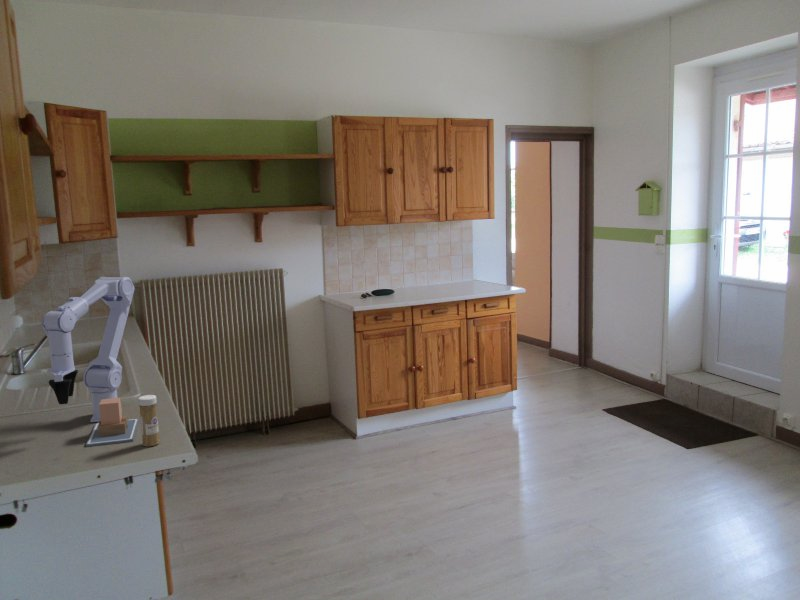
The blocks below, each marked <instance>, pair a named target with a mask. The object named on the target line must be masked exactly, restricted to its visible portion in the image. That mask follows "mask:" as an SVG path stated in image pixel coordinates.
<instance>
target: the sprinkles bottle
mask: <svg viewBox="0 0 800 600" xmlns="http://www.w3.org/2000/svg"><path fill="white" fill-rule="evenodd" d="M138 407H139V414H140V416H139V417H140V419H139V421H140V428H141V430H140V431H141V438H142V445H143V446H144V447H154V446H157V445H159V444H160V443H161V440H160V436H159V435H160V433H159V431H160V430H159V421H158V412H157V411H158V410H157V409H158V408H157V395H154V394H145V395H142V396H139V397H138Z"/></svg>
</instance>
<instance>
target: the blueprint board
mask: <svg viewBox="0 0 800 600" xmlns="http://www.w3.org/2000/svg"><path fill="white" fill-rule="evenodd" d="M127 420H128V427H127V430H126V433H125V434H118V435H109V436H101V437H99V435H98V425H99V423H100V422H97V423H96V422H95V425H94V426H93V428H92V431H91V432H90V434H89V437H88V439H87V441H86V442H85V448H87V447H94V446H95V447H96V446H104V445H112V444H122V443H129V442H134V440H135V437H136V432H137V428H138V425H139V422H140V419H139V418H133V419H131V418H130V419H127Z"/></svg>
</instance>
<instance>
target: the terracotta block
mask: <svg viewBox="0 0 800 600" xmlns="http://www.w3.org/2000/svg"><path fill="white" fill-rule="evenodd" d="M99 409H100V419H101V425H106V424H115V423H120V422H121V419H122V416H123V409H122V403H121V397H117V398H112V399H102V400H101V402H100V404H99ZM121 409H122V410H121Z"/></svg>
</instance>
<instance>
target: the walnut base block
mask: <svg viewBox="0 0 800 600" xmlns="http://www.w3.org/2000/svg"><path fill="white" fill-rule="evenodd" d="M128 420H129V419H128V415H125V416H124V415H122V419H121V422H120V423H115V424H106V425H101V420H100V421H99V422H98V423H99V425H98V435H99V437H101V436H109V435H118V434H125V433H126V430H127V427H128Z"/></svg>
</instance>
